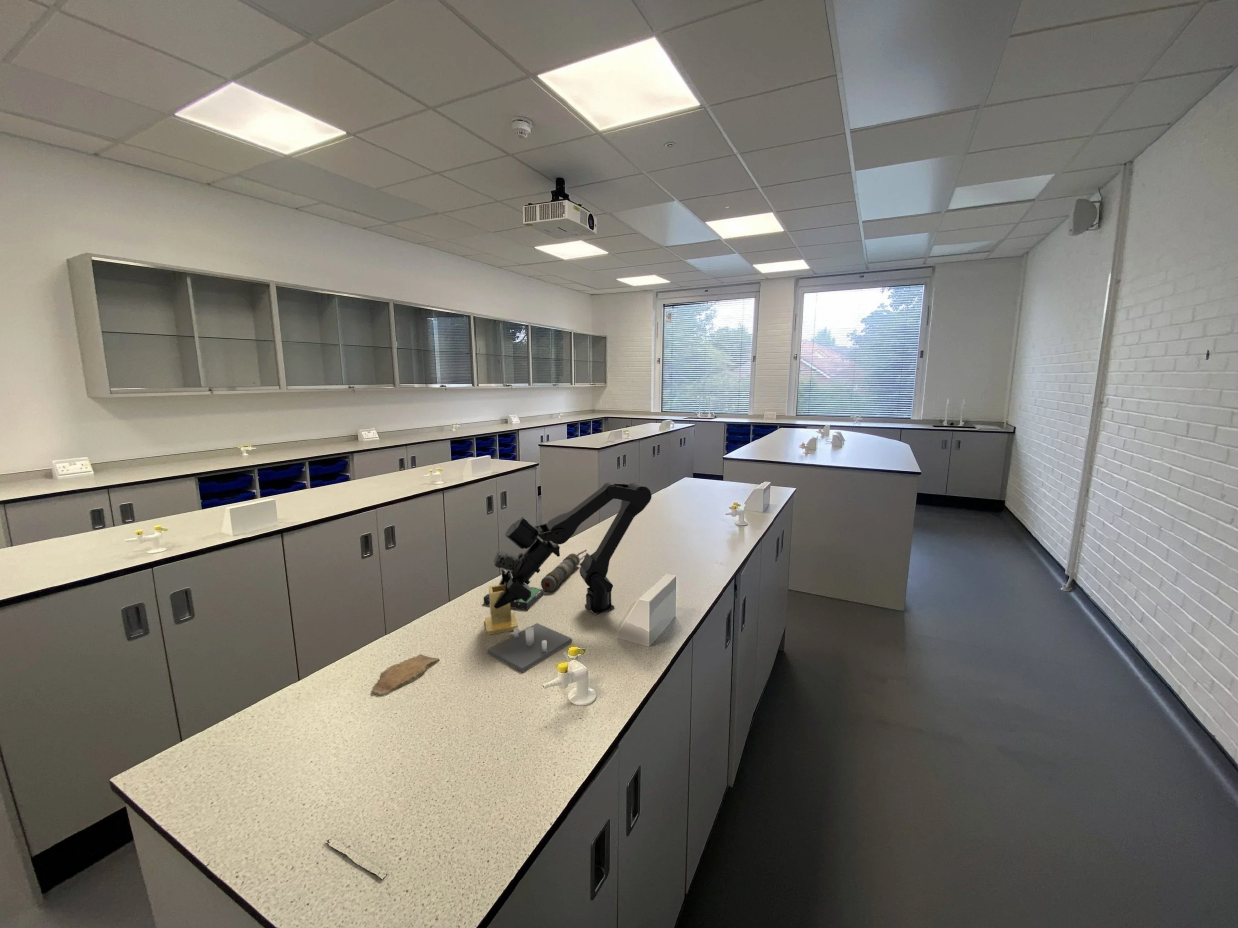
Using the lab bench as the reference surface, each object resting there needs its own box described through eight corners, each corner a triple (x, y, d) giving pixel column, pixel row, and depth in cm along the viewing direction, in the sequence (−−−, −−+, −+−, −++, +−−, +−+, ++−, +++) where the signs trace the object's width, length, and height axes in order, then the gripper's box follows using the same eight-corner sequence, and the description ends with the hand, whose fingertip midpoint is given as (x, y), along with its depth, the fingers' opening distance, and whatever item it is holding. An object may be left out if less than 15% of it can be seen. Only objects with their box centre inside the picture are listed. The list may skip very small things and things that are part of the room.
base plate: (537, 626, 128) (536, 609, 128) (571, 641, 120) (571, 623, 120) (487, 652, 116) (486, 633, 115) (522, 672, 108) (521, 651, 107)
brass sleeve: (514, 615, 135) (512, 580, 133) (518, 629, 127) (515, 592, 125) (485, 620, 132) (482, 585, 130) (487, 634, 125) (484, 597, 123)
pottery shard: (445, 665, 112) (445, 658, 112) (379, 701, 100) (378, 694, 100) (426, 654, 117) (425, 648, 116) (361, 688, 104) (360, 680, 104)
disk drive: (483, 606, 142) (528, 611, 138) (482, 597, 142) (528, 602, 138) (501, 591, 152) (543, 595, 148) (500, 583, 151) (543, 587, 147)
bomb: (591, 555, 181) (591, 543, 180) (555, 593, 149) (554, 578, 148) (579, 554, 182) (578, 542, 181) (540, 591, 150) (539, 576, 150)
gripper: (507, 530, 136) (469, 573, 134) (515, 552, 118) (472, 601, 116) (536, 553, 139) (499, 595, 138) (548, 577, 122) (507, 625, 120)
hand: (494, 603), depth 128 cm, fingers closed on brass sleeve, 5 cm apart
